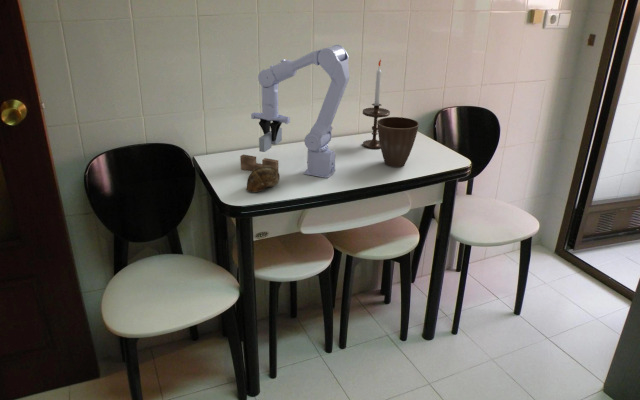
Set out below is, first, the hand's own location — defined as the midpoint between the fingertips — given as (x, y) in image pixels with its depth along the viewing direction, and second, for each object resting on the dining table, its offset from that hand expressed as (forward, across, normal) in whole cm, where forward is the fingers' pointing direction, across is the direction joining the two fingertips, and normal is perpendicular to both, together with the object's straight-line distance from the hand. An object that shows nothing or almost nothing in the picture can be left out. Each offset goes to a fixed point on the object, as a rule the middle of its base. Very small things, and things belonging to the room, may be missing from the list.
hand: (270, 140), depth 186 cm
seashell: (+9, -8, +22) cm, 25 cm away
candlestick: (+9, -29, -36) cm, 47 cm away
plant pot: (+9, -42, -19) cm, 47 cm away
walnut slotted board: (+9, 0, +9) cm, 13 cm away
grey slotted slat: (+2, 0, 0) cm, 2 cm away
